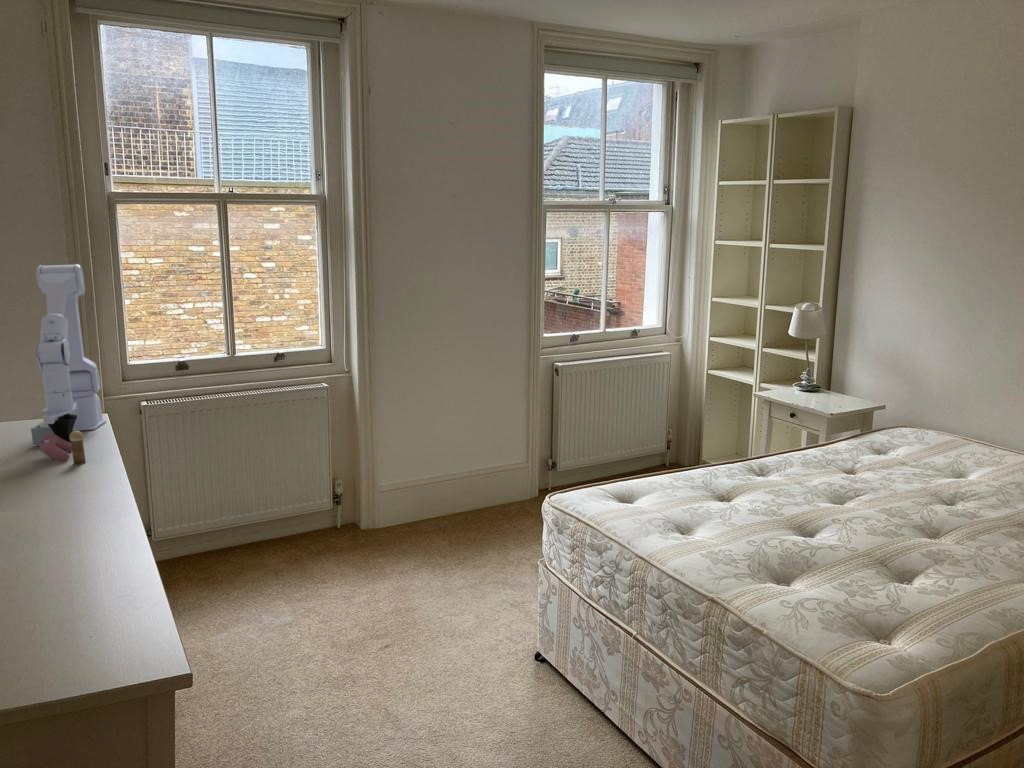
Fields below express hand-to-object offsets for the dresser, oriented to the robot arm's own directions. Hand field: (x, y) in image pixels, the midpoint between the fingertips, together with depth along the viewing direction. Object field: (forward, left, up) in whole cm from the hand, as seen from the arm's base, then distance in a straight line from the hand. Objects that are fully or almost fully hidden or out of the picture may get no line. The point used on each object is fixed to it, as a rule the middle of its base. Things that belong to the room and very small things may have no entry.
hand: (65, 445), depth 199 cm
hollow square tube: (-9, -7, -1) cm, 11 cm away
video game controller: (+6, +1, -1) cm, 6 cm away
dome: (-9, -7, +1) cm, 11 cm away
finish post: (+12, +8, -1) cm, 14 cm away
